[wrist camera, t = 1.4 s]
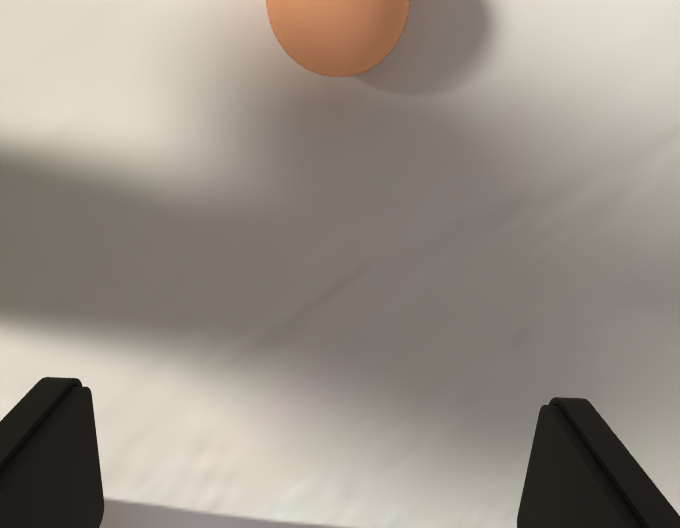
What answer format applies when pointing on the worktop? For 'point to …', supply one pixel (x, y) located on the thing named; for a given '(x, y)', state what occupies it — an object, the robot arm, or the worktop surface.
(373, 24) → the ball
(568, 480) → the robot arm
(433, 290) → the worktop surface
